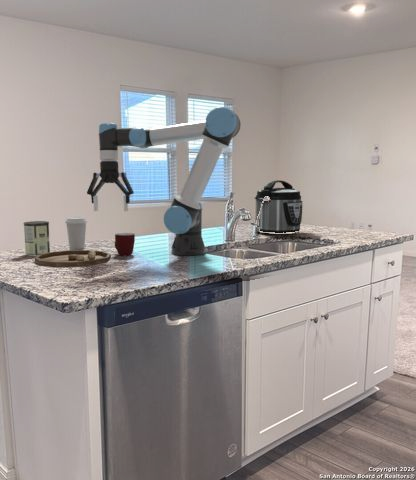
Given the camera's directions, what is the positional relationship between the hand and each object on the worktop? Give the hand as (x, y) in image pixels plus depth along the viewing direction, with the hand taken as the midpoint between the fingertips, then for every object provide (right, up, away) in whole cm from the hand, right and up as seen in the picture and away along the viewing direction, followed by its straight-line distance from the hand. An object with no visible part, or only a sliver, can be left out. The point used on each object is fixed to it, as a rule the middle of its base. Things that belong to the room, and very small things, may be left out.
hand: (110, 211), depth 204 cm
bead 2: (-5, -20, -12) cm, 24 cm away
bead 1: (-7, -21, -22) cm, 31 cm away
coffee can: (-32, -19, +3) cm, 37 cm away
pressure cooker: (+84, -9, +84) cm, 119 cm away
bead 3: (-4, -20, -18) cm, 27 cm away
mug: (+6, -20, -3) cm, 21 cm away
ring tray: (-11, -21, -16) cm, 29 cm away
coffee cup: (-18, -17, +14) cm, 29 cm away
